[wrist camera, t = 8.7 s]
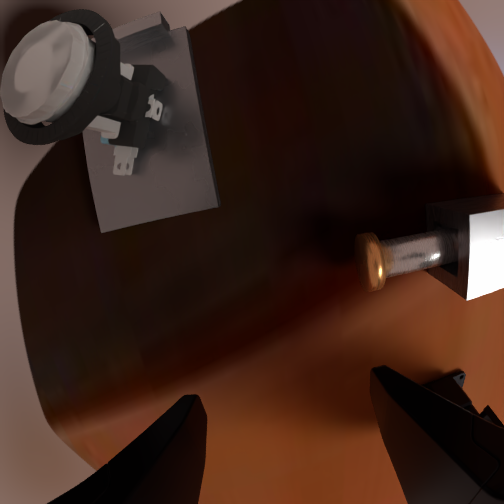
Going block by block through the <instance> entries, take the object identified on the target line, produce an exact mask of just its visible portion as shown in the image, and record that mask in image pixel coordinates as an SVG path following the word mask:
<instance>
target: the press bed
mask: <svg viewBox="0 0 504 504" xmlns="http://www.w3.org/2000/svg"><path fill="white" fill-rule="evenodd" d="M112 30H113V33H114V36H115V38H116V39H117V40H118V41H119V43H120V62H122V63H123V64H131V65H154V66H155V67H156V68H157V69H158V70H159V71H160V72H162V73H163V74H164V75H165V77H166V81H165V85H164V88H163V90H162V91H157V94H156V98H155V100H157V101H159V102H160V103H162V111H161V116H160V119H159V121H156V120H154V119H152V118H151V120H150V125H149V129H148V134H147V139H146V144H145V147H144V148H143V149H142V148H138V152H137V158H135V157H134V162H133V168H132V174H131V175H124V176H123V175H115V174H113V169H114V162H115V156H116V155H114V149H115V145H108V144H102V143H101V141H100V139H101V132H100V131H95V130H90V129H84V131H83V139H84V146H85V153H86V160H87V166H88V172H89V178H90V183H91V188H92V193H93V198H94V203H95V208H96V212H97V217H98V221H99V225H100V229H101V233H103V232H107V231H111V230H115V229H119V228H124V227H128V226H132V225H136V224H141V223H145V222H149V221H154V220H158V219H163V218H167V217H172V216H176V215H181V214H186V213H191V212H195V211H200V210H205V209H210V208H215V207H219V206H220V205H221V202H220V197H219V192H218V187H217V182H216V177H215V172H214V167H213V161H212V156H211V151H210V146H209V140H208V135H207V130H206V124H205V119H204V114H203V108H202V103H201V97H200V91H199V86H198V80H197V74H196V69H195V63H194V57H193V51H192V45H191V39H190V34H189V32H188V30H187V28H186V27H181V28H177V29H174V30H170V26H169V24H168V22H167V21H166V19H165V18H164V16H163V15H162V14H161V12H157V13H154V14H151V15H148V16H145V17H142V18H140V19H137V20H134V21H132V22H129V23H126V24H124V25H122V26H119V27H117V28H114V29H112ZM91 40H92V41H94V42H95V43H96V41H95V38H92V39H91ZM158 112H159V108H157V114H158ZM117 168H118V169H119V170H120V168H121V163H119V164H118V165H117ZM127 169H129V164H128V163H127V165H126V170H127Z"/></svg>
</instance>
